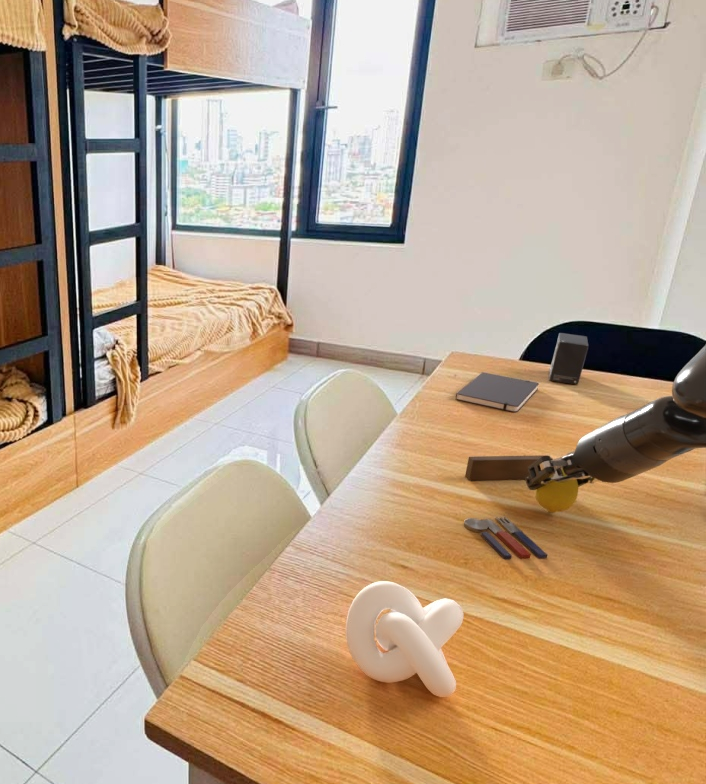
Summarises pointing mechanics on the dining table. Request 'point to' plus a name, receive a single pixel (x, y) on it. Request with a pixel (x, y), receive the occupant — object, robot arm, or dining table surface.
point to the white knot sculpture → (402, 636)
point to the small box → (568, 358)
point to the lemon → (557, 495)
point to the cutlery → (505, 537)
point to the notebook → (498, 392)
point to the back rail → (499, 467)
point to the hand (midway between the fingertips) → (548, 483)
